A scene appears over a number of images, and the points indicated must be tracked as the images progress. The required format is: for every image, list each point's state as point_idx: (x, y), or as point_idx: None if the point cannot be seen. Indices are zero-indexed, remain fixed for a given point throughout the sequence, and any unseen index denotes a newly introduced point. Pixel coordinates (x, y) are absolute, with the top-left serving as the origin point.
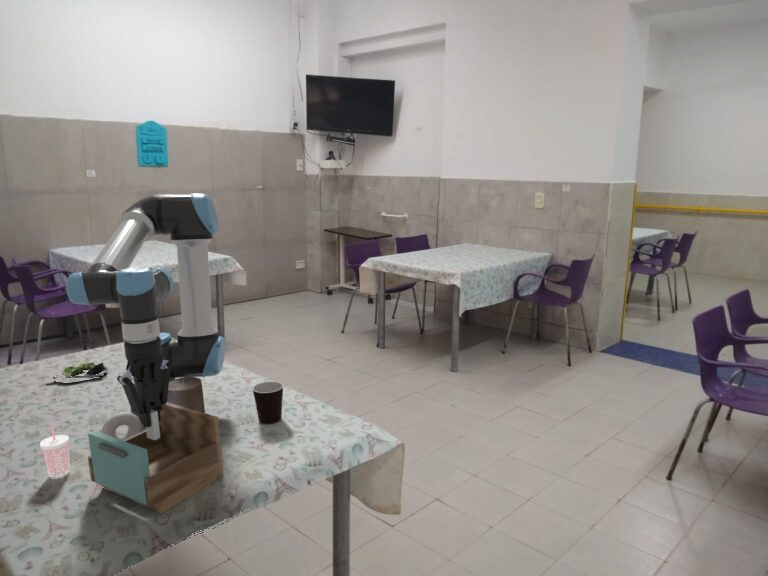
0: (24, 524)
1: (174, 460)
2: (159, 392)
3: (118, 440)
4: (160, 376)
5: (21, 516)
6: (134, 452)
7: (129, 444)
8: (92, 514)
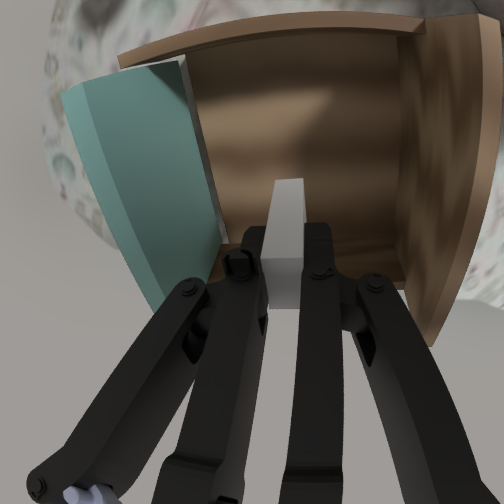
0: (60, 81)
1: (363, 133)
2: (374, 357)
3: (133, 242)
4: (415, 466)
5: (61, 51)
6: None
7: (156, 289)
8: None
